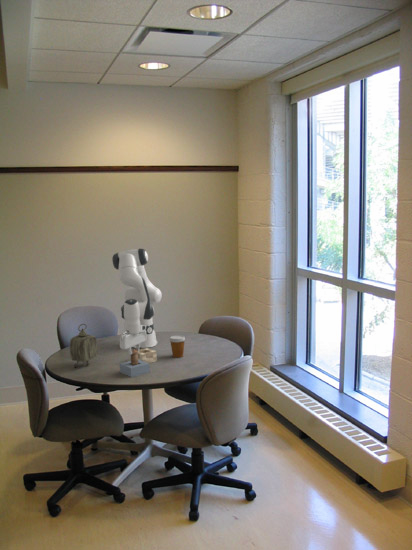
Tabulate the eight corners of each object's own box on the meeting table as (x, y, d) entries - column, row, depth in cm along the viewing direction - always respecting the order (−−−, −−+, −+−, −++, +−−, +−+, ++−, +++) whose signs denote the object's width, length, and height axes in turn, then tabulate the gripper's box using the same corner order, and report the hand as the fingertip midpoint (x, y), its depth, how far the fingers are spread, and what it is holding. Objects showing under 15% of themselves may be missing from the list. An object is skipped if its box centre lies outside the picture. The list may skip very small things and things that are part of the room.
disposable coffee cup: (183, 358, 338) (183, 339, 337) (168, 358, 340) (167, 338, 339) (187, 354, 348) (186, 335, 346) (172, 353, 350) (171, 335, 348)
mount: (133, 361, 337) (132, 351, 336) (147, 357, 343) (147, 348, 342) (142, 364, 329) (142, 354, 328) (156, 361, 335) (156, 351, 335)
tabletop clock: (87, 361, 340) (84, 320, 336) (99, 363, 335) (96, 321, 332) (71, 368, 327) (68, 326, 323) (83, 370, 323) (80, 327, 319)
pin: (130, 371, 315) (128, 350, 314) (135, 370, 318) (134, 349, 316) (134, 373, 312) (133, 352, 311) (140, 371, 315) (138, 350, 314)
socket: (120, 372, 316) (119, 363, 316) (138, 367, 324) (137, 359, 323) (131, 377, 307) (131, 368, 306) (149, 372, 315) (149, 363, 314)
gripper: (125, 333, 301) (126, 358, 303) (147, 325, 319) (149, 349, 321) (116, 332, 305) (117, 357, 307) (138, 324, 322) (140, 347, 324)
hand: (133, 353), depth 314 cm, fingers open, 5 cm apart
